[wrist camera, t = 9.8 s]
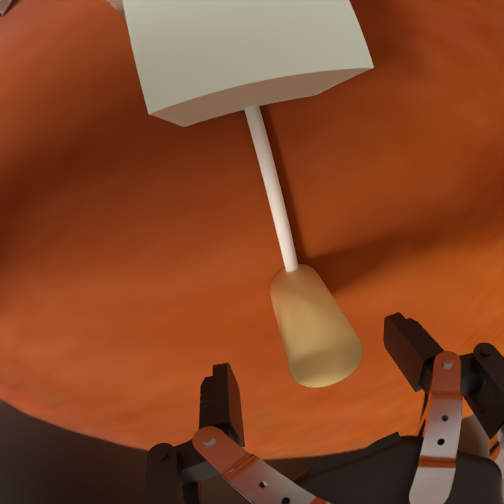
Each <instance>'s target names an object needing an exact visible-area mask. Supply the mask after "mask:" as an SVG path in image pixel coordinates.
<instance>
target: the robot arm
mask: <svg viewBox="0 0 504 504" xmlns="http://www.w3.org/2000/svg"><path fill="white" fill-rule="evenodd" d="M384 345H385V348H386V350H387V351H388V353H389V354H390V356H391V357H392V358H393V360H394V361H395V363H396V364H397V366H398V367H399V369H400V370H401V371H402V373H403V374H404V376H405V377H406V379H407V380H408V382H409V383H410V385H411V386H412V388H413V389H414V391H415V392H417V391H419V390H421V389H423V390H424V392H425V394H424V398H423V404H422V409H421V414H420V419H419V423H418V427H417V430H416V433H415V436H399V434H398V432H396V433H393V434H391V435H389V436H387V437H384V438H382V439H380V440H377V441H376V442H374V443H373V444H371V445H370V446H368V447H367V448H365V449H364V450H362V451H361V452H359V453H357V454H354V455H346V456H338V457H330V458H327V459H323V460H320V461H316V462H312V463H309V464H307V465H308V468H309V469H307V470H305V471H303V472H302V473H300V474H299V475H298V476H296V477H295V478H294V479H293V480H292V481H291V480H289V479H288V478H286V477H285V476H283V475H282V474H280V473H279V472H277V471H276V470H275V469H273V468H272V467H270V466H269V465H267V464H266V463H265V462H263V461H262V460H261V459H260V458H258V457H257V456H255V455H253V454H252V455H251V454H249V453H248V452H247V451H245V450H244V449H243V448H242V447H245V442H244V432H243V422H242V412H241V402H240V392H239V387H238V384H237V381H236V379H235V376H234V374H233V372H232V369H231V367H230V365H229V363H223V364H218V365H213V376H210V377H205V379H204V381H203V383H202V384H201V392H200V395H201V396H200V416H199V430H198V431H197V432H196V433H195V435H194V436H193V438H192V439H191V440H190V441H188V442H185V443H183V444H180V445H177V446H175V447H173V446H172V445H170V444H167V443H160V444H157V445H155V446H154V447H152V448H151V449H150V451H149V453H148V456H147V472H146V489H145V504H203V498H202V485H201V481H202V480H205V479H207V478H210V477H213V476H215V475H218V474H220V475H221V476H222V477H223V478H224V479H225V480H226V481H228V482H229V483H230V484H231V485H232V486H233V487H234V488H235V489H236V490H238V491H239V492H240V493H241V494H242V495H243V496H245V497H246V498H247V499H248V500H249V501H250V502H252V503H253V504H504V503H503V497H502V480H503V479H504V357H503V356H502V355H501V354H500V353H499V351H498V350H497V349H496V348H495V347H494V346H493V345H491V344H489V343H480V344H478V345H477V346H476V347H475V348H474V351H473V353H470V354H466V355H461V356H458V355H457V354H456V353H454V352H451V351H444V350H443V349H442V348H441V347H440V346H439V344H438V343H437V342H436V341H435V340H434V339H433V338H432V337H431V336H430V335H429V334H428V332H427V331H426V330H425V329H424V328H423V327H422V326H421V325H420V324H419V323H418V322H417V321H415V320H413V319H411V318H408V319H405V318H404V317H403V315H402V314H401V313H399V312H397V313H395V314H392V315H390V316H387V317H385V320H384ZM463 397H464V399H465V400H466V402H467V403H468V405H469V406H470V408H471V409H472V411H473V412H474V414H475V416H476V417H477V419H478V421H479V422H480V424H481V425H482V427H483V429H484V430H485V432H486V434H487V435H488V437H489V439H490V442H489V446H488V450H489V457H490V459H489V458H485V457H481V456H478V455H475V454H471V453H468V452H464V451H461V450H458V449H457V447H458V441H459V433H460V425H461V416H462V405H463Z"/></svg>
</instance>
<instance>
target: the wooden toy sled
mask: <svg viewBox="0 0 504 504" xmlns="http://www.w3.org/2000/svg"><path fill="white" fill-rule="evenodd" d="M107 1H108V2H109V3H110V4H111V6H112V7H113V8H114V9H115V10H116V11H117V12H118V13H119V14H120V15H121V16H122V17H123V18H124V19H125V20H126V16H125V11H124V6H123V0H107Z"/></svg>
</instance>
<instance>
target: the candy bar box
mask: <svg viewBox="0 0 504 504" xmlns="http://www.w3.org/2000/svg"><path fill="white" fill-rule="evenodd" d="M12 2H13V0H0V16H1V17H2V16H3V15H4V14H5V12H6V11H7V10H8V8H9V7H10V5H11V4H12Z"/></svg>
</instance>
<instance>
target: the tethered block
mask: <svg viewBox="0 0 504 504" xmlns="http://www.w3.org/2000/svg"><path fill="white" fill-rule="evenodd" d="M123 6H124V11H125V16H126V21H127V26H128V31H129V36H130V41H131V45H132V50H133V54H134V58H135V63H136V67H137V71H138V75H139V79H140V83H141V87H142V91H143V95H144V99H145V103H146V106H147V110H148V114H149V115H152V116H155V117H158V118H161V119H163V120H166V121H169V122H171V123H174V124H177V125H179V126H182V127H186V126H189V125H192V124H195V123H199V122H202V121H205V120H208V119H212V118H215V117H219V116H222V115H226V114H230V113H234V112H237V111H241V110H244V111H245V114H246V118H247V121H248V125H249V129H250V132H251V136H252V139H253V143H254V147H255V150H256V154H257V158H258V162H259V165H260V169H261V173H262V177H263V181H264V184H265V188H266V192H267V196H268V200H269V204H270V208H271V212H272V216H273V220H274V224H275V228H276V232H277V236H278V240H279V244H280V248H281V252H282V256H283V261H284V265H285V267H284V268H283V269H281V270H280V271H279V272H278V273H277V274H276V275H275V276H274V277H273V279H272V281H271V284H270V296H271V300H272V304H273V308H274V311H275V315H276V319H277V322H278V326H279V330H280V334H281V338H282V341H283V345H284V349H285V353H286V356H287V360H288V364H289V368H290V372H291V375H292V377H293V378H294V380H295V381H296V382H298V383H299V384H301V385H304V386H307V387H324V386H328V385H332V384H334V383H337V382H339V381H341V380H342V379H344V378H345V377H347V376H348V375H349V374H351V373H352V372H353V371H354V370H355V368H356V367H357V366H358V364H359V363H360V361H361V358H362V355H363V347H362V344H361V342H360V340H359V338H358V337H357V335H356V333H355V332H354V330H353V329H352V327H351V325H350V324H349V322H348V320H347V319H346V317H345V316H344V314H343V312H342V311H341V309H340V307H339V306H338V304H337V303H336V301H335V300H334V298H333V296H332V295H331V293H330V292H329V290H328V289H327V287H326V285H325V284H324V282H323V281H322V279H321V278H320V276H319V275H318V273H317V272H316V271H315V270H314V269H313V268H312V267H310V266H308V265H304V264H298V262H297V257H296V252H295V248H294V243H293V239H292V234H291V230H290V225H289V221H288V217H287V213H286V208H285V204H284V200H283V196H282V192H281V188H280V183H279V179H278V175H277V171H276V168H275V164H274V160H273V156H272V152H271V148H270V144H269V141H268V137H267V133H266V129H265V126H264V122H263V119H262V115H261V111H260V108H259V106H263V105H267V104H272V103H277V102H282V101H287V100H292V99H298V98H304V97H310V96H316V95H318V94H320V93H322V92H324V91H325V90H327V89H329V88H331V87H333V86H335V85H337V84H340V83H342V82H344V81H346V80H348V79H350V78H352V77H354V76H356V75H359V74H361V73H363V72H365V71H367V70H370V69H372V68H374V66H373V63H372V59H371V56H370V53H369V50H368V47H367V44H366V41H365V39H364V36H363V33H362V30H361V28H360V25H359V23H358V20H357V18H356V15H355V13H354V10H353V8H352V6H351V3H350V1H349V0H123Z"/></svg>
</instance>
